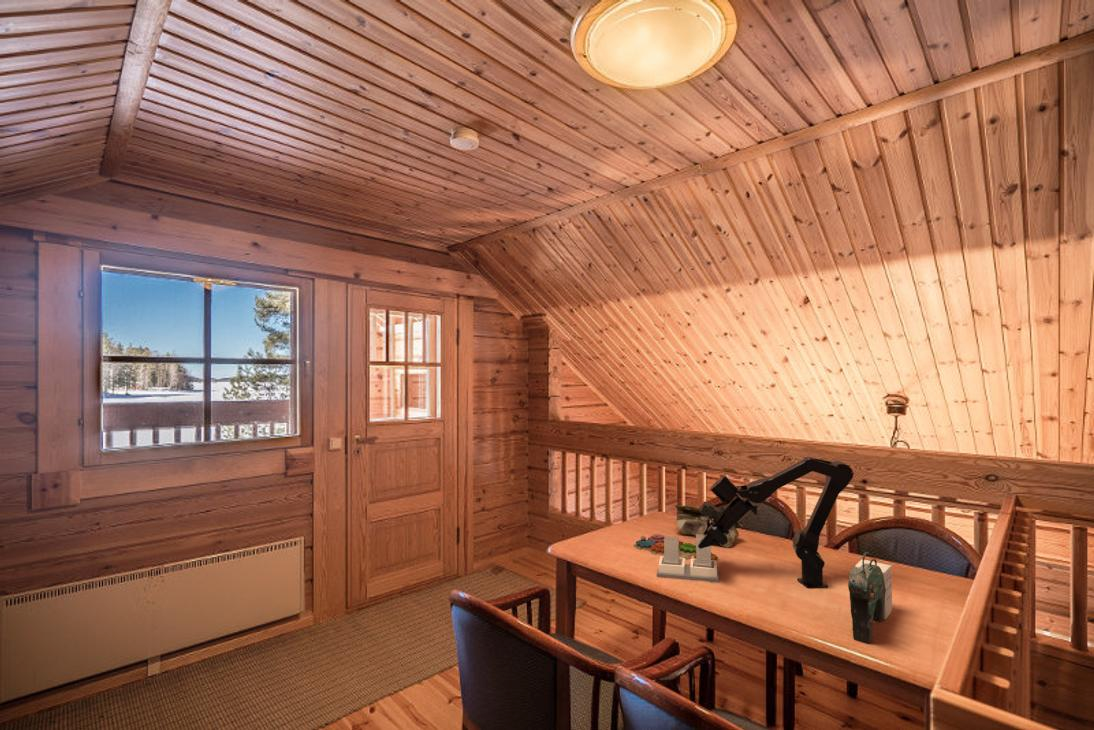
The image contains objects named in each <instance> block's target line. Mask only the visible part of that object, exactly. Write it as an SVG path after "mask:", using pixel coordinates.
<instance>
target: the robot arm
mask: <svg viewBox="0 0 1094 730" xmlns="http://www.w3.org/2000/svg"><path fill="white" fill-rule="evenodd" d="M812 472H813V473H817V474H821V475H823V476H825V478H824V479H825V480H824V486H823V489H822V491H821V494H820V495H819V498H818V500H817V502H816V504H815V506H814V508H813V509H812V513H811V514H810V517H809V519H808V522H807V523H806V526H805V527H804V528H802V529H801V530H800V529H799V528H796V530H795V535H794V536H793V537H792V538H791V541H792V548H793V550H794V553H795V555H796V557H797V559H799V560H800V561H801V563H800V564H801V566H800V567H801V577H797V578H796V580H797V582H799V583H800V584H801V585H803V586H804V587H806V588H807V589H813V588H828V587H829V585H828V584H827V583H825V582H824V580H823V579H824V578H823V577H824V576H823V574H824V571H823V569H824V566H825V561H824V559H823V557H822V556H821V554H820V553H819V552H818V549H819V544H820V542H819V541H820V535H821V533H822V531H823V529H824V527H825V524H826V522H827V521H828V518H829V516H830V514H831V512H832V510H833V507H834V506H835V503H836V501H837V499H838V497H839V496H840V493H842V492H843V491H844V490H845V488H847V486H848V485H849V483H851V481H852V480H853V477H854V475H855V474H854V471H853V469H852V467H851V466H849V464H847V463H845V462H843V461H841V460H834V461H829V460H825V459H820V458H816V457H812V456H805V457H804V458H803V459H802V460H799V461H798V462H796V463H794V464H791V465H790V466H788V467H787V468H786V467H785V468H784V469H783V470H781V471H779V472H777V473H775V474H772V475H771V476H767V477H764V478H759V479H756V480H754V481H753V480H752V481H751V482H748V483H747V484H744V485H735V484H734V483H733V482H732V481H731V479H730V478H729V477H728V476H726V475H723V476H722V477H721V478H719V479H718V480H716V481H715V482H714V483H713V484H712V485H711V486H710V487H709V490H710V492H712V494H714V496H716V497H717V498H718V499H719V500H720V501H721V502H722V503H729V504H727V505H726V506H722V507H721V508H719V507H718V506H715V505H713V504H712V503H709V502H707V501H703V502H702V505H701V506H700V508H699V509H700V513H701V514H703V515H706V516H708V518H709V519H710V518H711V520H710V521H709V520H707V528H706V530H705V531H704V533H703V535H706V536H705V537H704V538H703V540H702V541H701V542H700V544H699V545H698V547H699V548H700V549H702V548H705V547H709V546H711V547H712V546H715V545H720V544H721V545H720V546H722V545H723V546H724V545H725V544H726V543H727V542H728V538H727V534H728V533H729V530H730V529H731V528H732V527H733V526H735V525H736V526H737V525H738V524H739V523H740V521H742V519H743V518H745V517H746V515H747V514H749V513H750V512H752V513H753V514H754V515H755V516H757V515H758V507H759V506H758V504H761V503H763V502H765V501H766V500H768V498H770V497H771V496H772V495H773V494H774V493H775V492H776V491H777V490H779V489H780V488H783V487H785V486H787V485H788V484H790V483H792V482H794V481H796V480H798V479H800V478H801V477H804V476H806V475H808V474H810V473H812ZM753 503H755V504H753ZM723 546H722V547H723Z"/></svg>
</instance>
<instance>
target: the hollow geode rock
mask: <svg viewBox="0 0 1094 730" xmlns="http://www.w3.org/2000/svg"><path fill="white" fill-rule="evenodd" d="M674 507H675V509H676V511H679V512H678V513H676V519H675V520H676V521H675V522H676V526H677V528H678V530H679V532H681V533H682V534H683V535H685V536H691V535H692V536H694V537H696V534H703V533H704V531H705V530H706V528H707V520H709V521H710V520H711V518H710V519H709V518H708V516H706V515H703V514H701V513H700V508H697V507H694V506H689V505H676V504H675V505H674ZM743 528H744V527H743V524H741V523H740V522H739V524H738V525H737V526H736V525H735V526H733V527H732V528H731V529H730V530H729V533H728V534H727V538H728V542H727V543H726V544H725V545H724V546H723V545H721V544H719V545H720V546H721V547H723V548H727V549H728V548H731V547H733V545H734V542H735V539H737V538H739V536H740V535H739V531H738V529H743Z"/></svg>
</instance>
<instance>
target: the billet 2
mask: <svg viewBox="0 0 1094 730" xmlns="http://www.w3.org/2000/svg"><path fill="white" fill-rule="evenodd" d="M705 536H706V535H703V534H696V536H695V545H696V558H697V567H705V568H711V553H712V546H709V547H705V548H702V549H700V548H699V547H698V545H699V544H700V542H701V541H702V540H703V538H704V537H705ZM696 558H695V559H696Z"/></svg>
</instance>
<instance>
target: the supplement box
mask: <svg viewBox="0 0 1094 730" xmlns="http://www.w3.org/2000/svg"><path fill="white" fill-rule="evenodd" d="M862 561H863V560H862V558H861V559H860V560H859V561H858V562H857V563H856V564H855V566H854V568H860V567H861V566H862ZM870 561H871V560H868V559H864V564H866V563H867V564H869V563H870ZM871 565H875V562H874V561H872V564H871ZM877 566H879V567H880V568H881V570H882V573H883V577H884V582H885V588H886V593H885V604H884V618H883V620H887V618H888V617H889V616H890V614H891V613H892V611H893V585H892V577H893V576H892V571H893V570H892V569H893V568H892V567H893V566H892V565H891V564H886V563H881V562H878V561H877Z"/></svg>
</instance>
